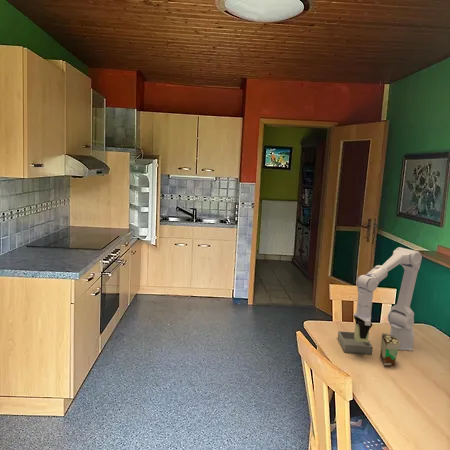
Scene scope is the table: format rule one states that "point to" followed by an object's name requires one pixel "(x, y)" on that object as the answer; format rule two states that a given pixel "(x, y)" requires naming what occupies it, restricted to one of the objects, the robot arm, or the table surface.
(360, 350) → the bin
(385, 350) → the food container
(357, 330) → the block
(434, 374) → the table surface
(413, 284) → the robot arm
